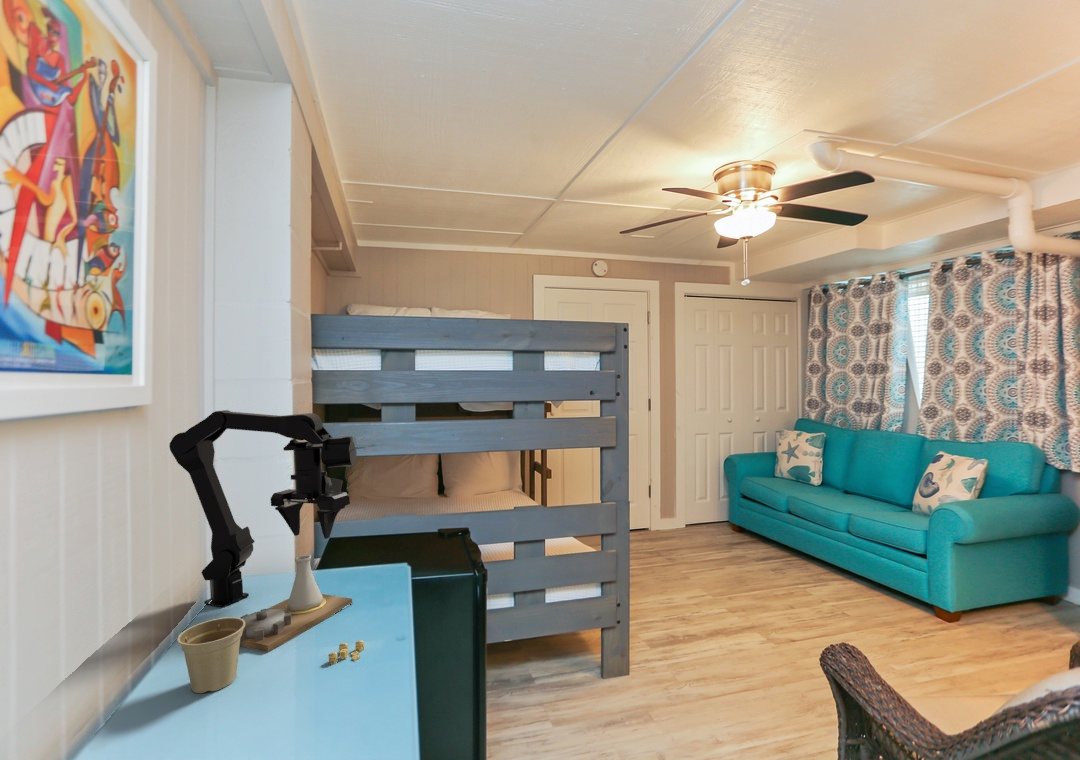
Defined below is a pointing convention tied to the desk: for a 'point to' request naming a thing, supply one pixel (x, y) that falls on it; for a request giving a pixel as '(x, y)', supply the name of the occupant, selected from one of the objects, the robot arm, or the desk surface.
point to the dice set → (346, 652)
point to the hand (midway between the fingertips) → (311, 536)
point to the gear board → (298, 623)
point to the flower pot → (212, 652)
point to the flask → (304, 587)
